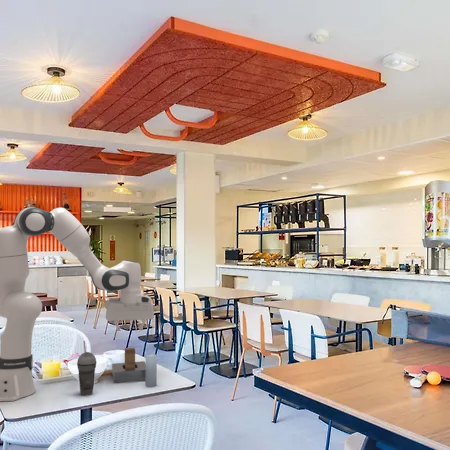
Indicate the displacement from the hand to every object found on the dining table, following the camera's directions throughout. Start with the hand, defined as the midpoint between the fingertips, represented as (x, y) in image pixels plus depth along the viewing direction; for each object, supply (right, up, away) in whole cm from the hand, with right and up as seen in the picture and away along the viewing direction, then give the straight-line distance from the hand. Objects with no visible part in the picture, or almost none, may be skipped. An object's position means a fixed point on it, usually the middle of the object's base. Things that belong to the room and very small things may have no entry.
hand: (129, 330), depth 205 cm
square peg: (0, -20, 0) cm, 20 cm away
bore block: (0, -20, 0) cm, 20 cm away
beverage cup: (-12, -19, -22) cm, 32 cm away
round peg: (+11, -20, -12) cm, 25 cm away
